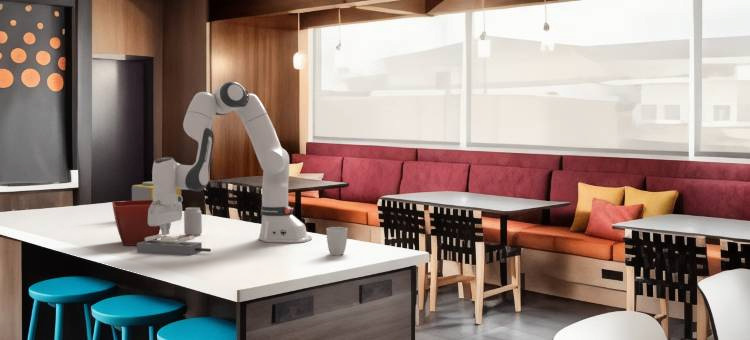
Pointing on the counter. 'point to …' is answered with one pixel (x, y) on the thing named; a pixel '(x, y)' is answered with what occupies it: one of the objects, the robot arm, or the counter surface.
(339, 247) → the cup
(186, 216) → the can
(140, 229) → the plant pot
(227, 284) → the counter surface
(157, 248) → the rocker switch panel
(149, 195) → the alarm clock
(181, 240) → the block
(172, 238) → the rocker
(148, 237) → the rocker
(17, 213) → the counter surface
